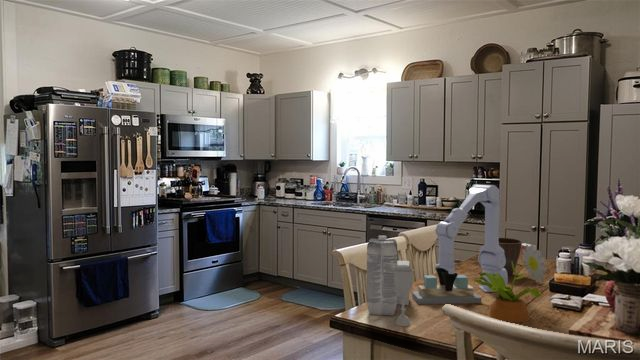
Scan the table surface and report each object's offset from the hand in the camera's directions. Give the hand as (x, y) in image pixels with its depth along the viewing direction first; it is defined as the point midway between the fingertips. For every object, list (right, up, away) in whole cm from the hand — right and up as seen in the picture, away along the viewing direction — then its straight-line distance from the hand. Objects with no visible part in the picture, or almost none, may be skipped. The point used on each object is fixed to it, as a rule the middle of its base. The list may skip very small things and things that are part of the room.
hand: (445, 288), depth 191 cm
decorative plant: (+16, -6, -19) cm, 25 cm away
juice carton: (-26, -5, -15) cm, 31 cm away
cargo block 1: (-6, +1, 0) cm, 6 cm away
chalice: (-21, -6, -27) cm, 35 cm away
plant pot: (+37, -3, +41) cm, 56 cm away
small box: (+56, -2, +61) cm, 83 cm away
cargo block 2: (+6, +1, 0) cm, 6 cm away
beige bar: (0, -2, 0) cm, 2 cm away
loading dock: (0, -4, 0) cm, 4 cm away
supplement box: (-19, -5, -2) cm, 20 cm away
